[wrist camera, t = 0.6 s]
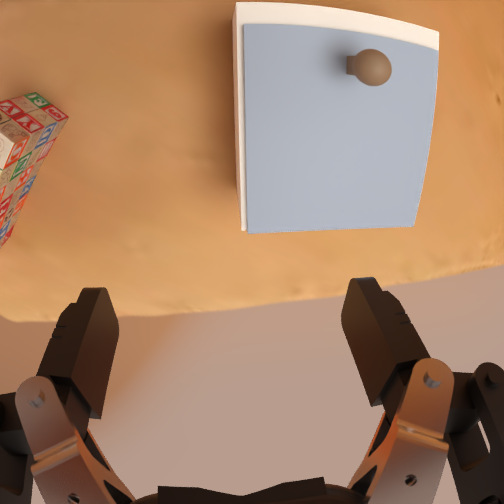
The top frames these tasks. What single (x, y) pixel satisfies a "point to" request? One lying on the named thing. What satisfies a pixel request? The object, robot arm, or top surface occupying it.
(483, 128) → the top surface
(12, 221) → the stack of blocks
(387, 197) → the box lid
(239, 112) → the carton
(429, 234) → the top surface
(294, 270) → the top surface
